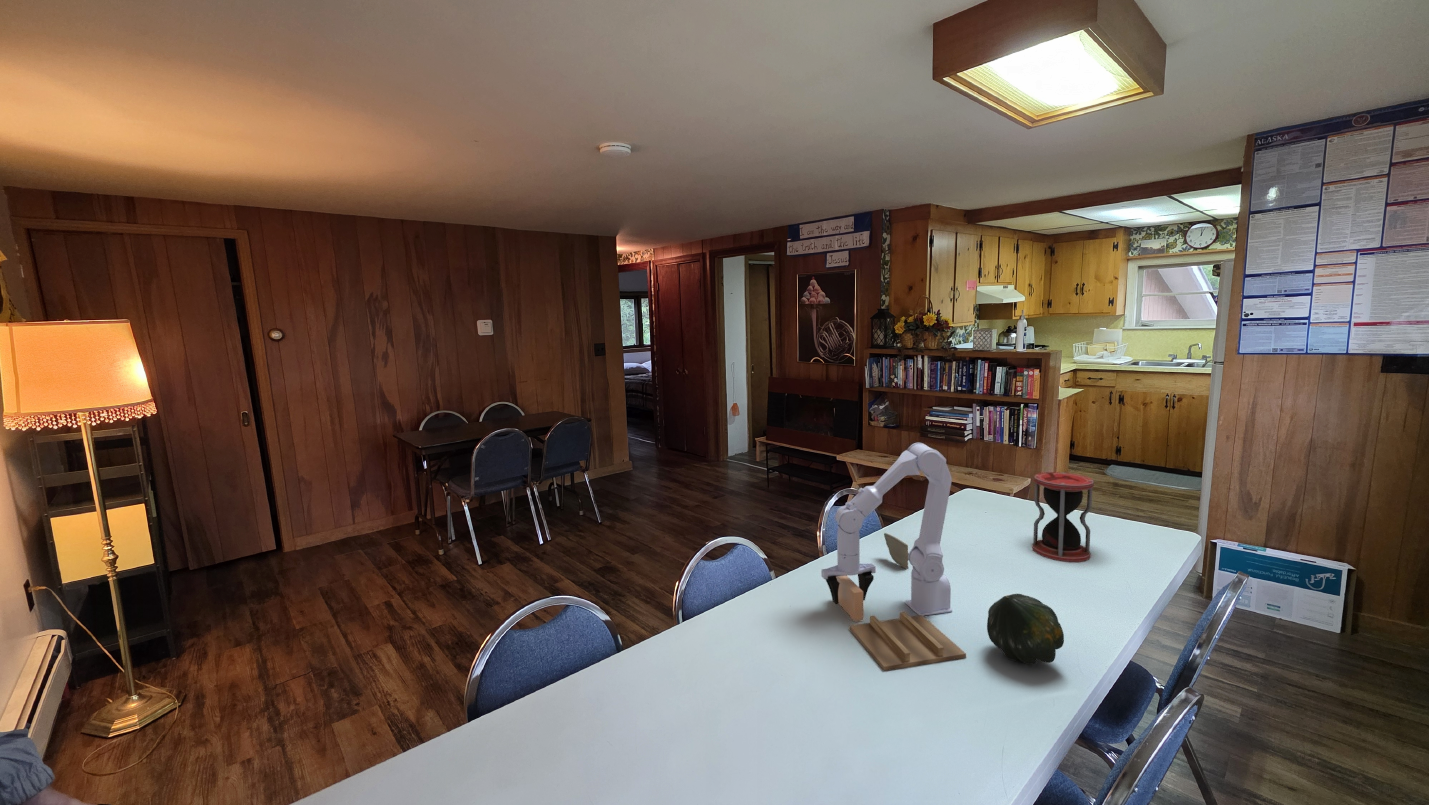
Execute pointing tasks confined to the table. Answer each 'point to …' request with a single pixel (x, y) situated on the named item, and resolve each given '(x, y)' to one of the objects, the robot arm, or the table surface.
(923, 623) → the ribbed wooden panel
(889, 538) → the ceramic fragment
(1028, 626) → the squash
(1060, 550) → the hourglass
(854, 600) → the clay block
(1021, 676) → the table surface
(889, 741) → the table surface
